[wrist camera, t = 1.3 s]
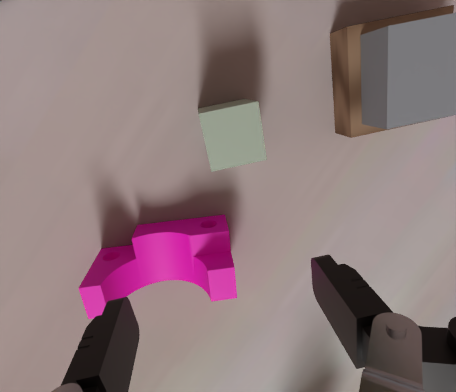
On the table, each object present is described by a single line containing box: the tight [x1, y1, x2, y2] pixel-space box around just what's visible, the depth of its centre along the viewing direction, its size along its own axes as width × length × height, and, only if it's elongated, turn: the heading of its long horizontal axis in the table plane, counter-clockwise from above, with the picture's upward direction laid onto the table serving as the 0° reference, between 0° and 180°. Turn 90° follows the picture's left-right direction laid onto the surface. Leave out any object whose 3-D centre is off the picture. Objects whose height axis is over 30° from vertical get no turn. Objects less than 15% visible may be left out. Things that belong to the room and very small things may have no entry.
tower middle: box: [360, 13, 456, 129], centre depth 26 cm, size 8×8×4 cm
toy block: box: [79, 215, 237, 319], centre depth 32 cm, size 15×6×8 cm, turn 95°
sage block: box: [198, 99, 267, 172], centre depth 28 cm, size 5×5×7 cm
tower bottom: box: [330, 5, 454, 138], centre depth 29 cm, size 10×10×4 cm
